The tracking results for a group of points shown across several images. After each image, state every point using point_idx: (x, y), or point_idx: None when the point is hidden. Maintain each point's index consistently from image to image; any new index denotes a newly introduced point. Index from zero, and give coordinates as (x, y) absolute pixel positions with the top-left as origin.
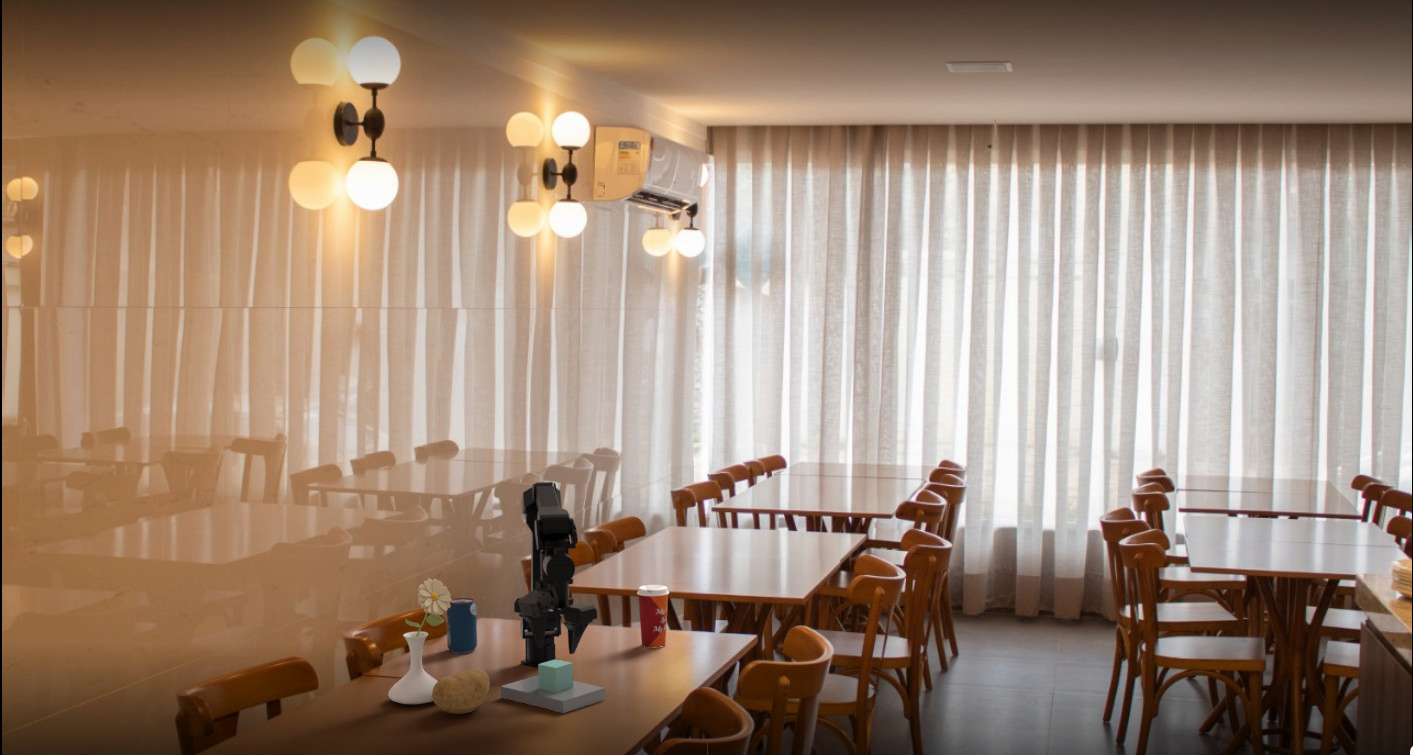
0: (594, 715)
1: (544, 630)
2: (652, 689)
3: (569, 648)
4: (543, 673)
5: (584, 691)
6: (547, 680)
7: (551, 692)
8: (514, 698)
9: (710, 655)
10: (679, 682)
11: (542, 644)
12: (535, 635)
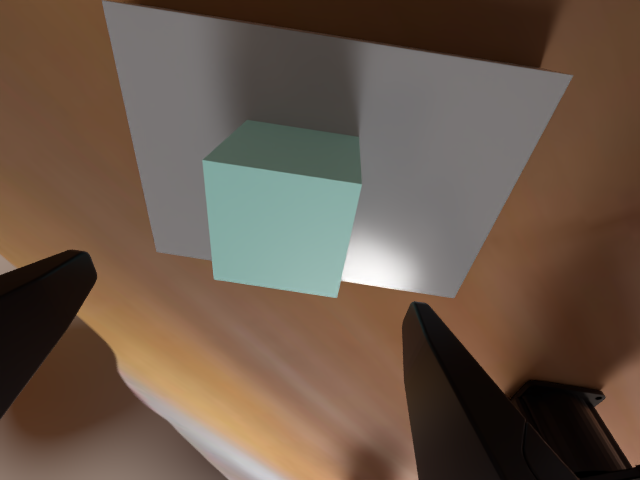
0: (39, 60)
1: (420, 467)
2: (164, 336)
3: (39, 271)
4: (319, 158)
5: (169, 188)
6: (294, 143)
7: (264, 109)
8: (453, 54)
9: (251, 476)
10: (165, 381)
11: (403, 339)
12: (461, 382)
